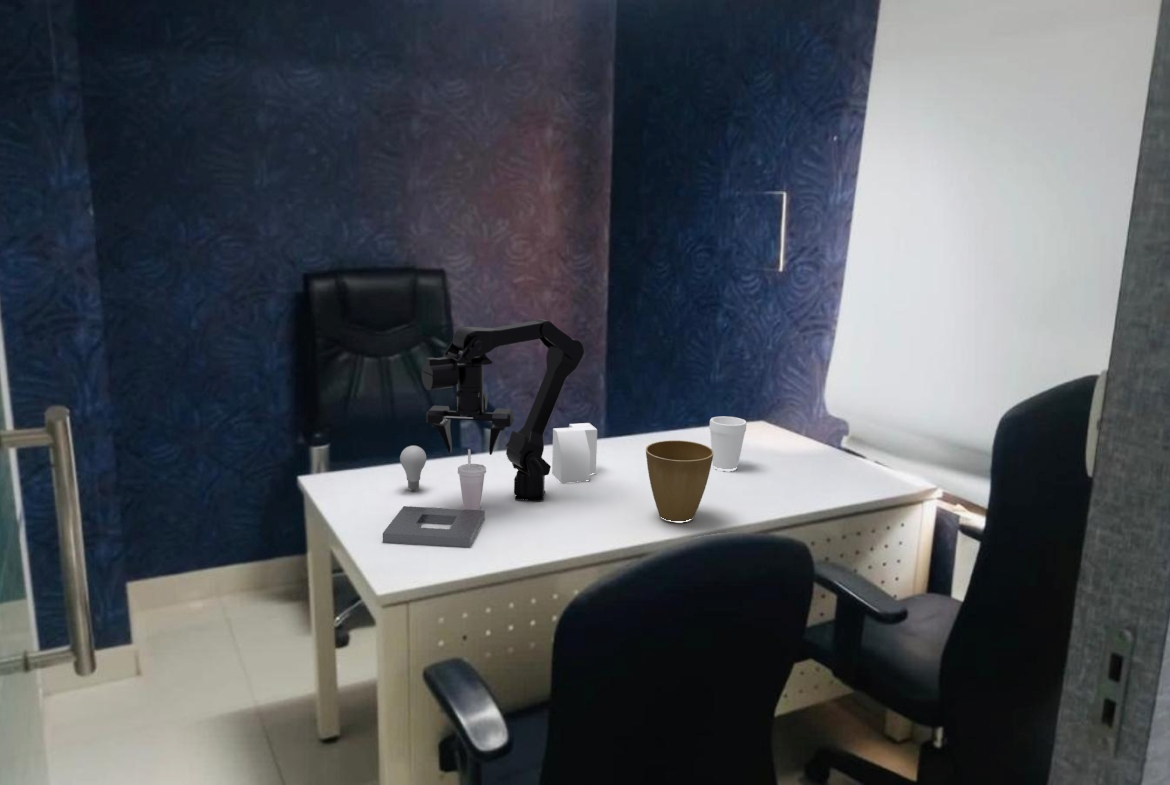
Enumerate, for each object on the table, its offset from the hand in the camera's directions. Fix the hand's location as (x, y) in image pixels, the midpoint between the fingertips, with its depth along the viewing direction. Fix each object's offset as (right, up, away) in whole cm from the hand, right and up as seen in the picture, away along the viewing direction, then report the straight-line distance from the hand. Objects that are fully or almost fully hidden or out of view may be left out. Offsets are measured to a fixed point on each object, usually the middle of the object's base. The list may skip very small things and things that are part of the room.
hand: (470, 453), depth 200 cm
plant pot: (+46, -15, +1) cm, 48 cm away
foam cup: (+63, -7, +38) cm, 73 cm away
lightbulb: (-15, -10, +13) cm, 23 cm away
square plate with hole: (-6, -16, -11) cm, 20 cm away
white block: (+23, -8, +28) cm, 37 cm away
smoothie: (0, -13, +3) cm, 13 cm away
